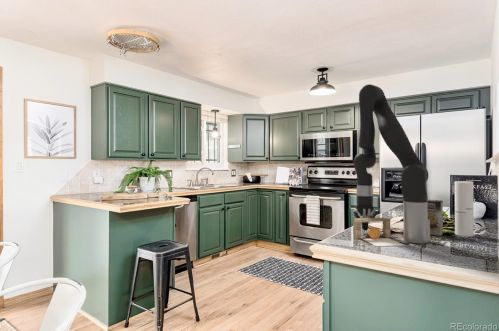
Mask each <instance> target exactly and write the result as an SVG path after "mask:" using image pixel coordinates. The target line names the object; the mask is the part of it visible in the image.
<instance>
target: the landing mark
mask: <svg viewBox="0 0 499 331" xmlns="http://www.w3.org/2000/svg"><path fill="white" fill-rule="evenodd" d="M362 240H363V241H364V242H367V243H369V244H370V245H372V246H375V247H400V246H401V247H402V246H403V247H404V246H405V244H403V243H400V242H399V241H397V240H394V239H391V238H386V237H384V238H383V237H382V238H381V237H379V238H377V239H373V238H362Z"/></svg>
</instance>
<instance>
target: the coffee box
mask: <svg viewBox="0 0 499 331" xmlns="http://www.w3.org/2000/svg"><path fill="white" fill-rule="evenodd" d="M443 202H444V201H443V200H441V199H440V200H438V199H427V213H428V220H430V235H431V236H432V235H433V236H442V235H443V232H444V230H443V222H444V220H443V217H444V216H443V215H444V213H443V212H444V210H443V208H444V203H443Z"/></svg>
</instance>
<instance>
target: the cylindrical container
mask: <svg viewBox="0 0 499 331" xmlns="http://www.w3.org/2000/svg"><path fill="white" fill-rule="evenodd" d="M474 212H475V211H474V181H469V180H468V181H466V180H465V181H460V180H459V181H456V180H455V181H454V235H457V236H460V237H467V238H468V237H474V234H475V232H474V229H475V224H474V223H475V222H474V217H475V216H474Z"/></svg>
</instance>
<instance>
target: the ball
mask: <svg viewBox="0 0 499 331" xmlns="http://www.w3.org/2000/svg"><path fill="white" fill-rule="evenodd" d="M368 236H369V237H370V239H377V238H381V237H380V236H381V230H380V229H379V228H378V227H371V228H369V229H368Z"/></svg>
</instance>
